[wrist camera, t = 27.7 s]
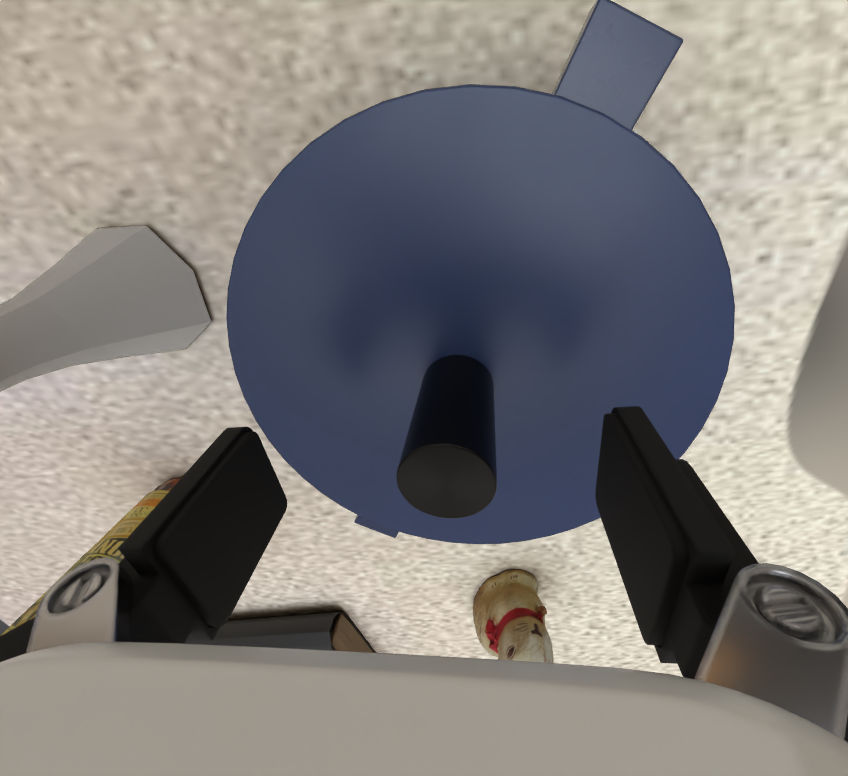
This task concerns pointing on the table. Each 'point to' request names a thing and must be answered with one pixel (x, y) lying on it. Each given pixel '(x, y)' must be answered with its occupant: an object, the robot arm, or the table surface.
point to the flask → (101, 306)
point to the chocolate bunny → (512, 618)
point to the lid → (475, 309)
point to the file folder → (292, 633)
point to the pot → (609, 77)
